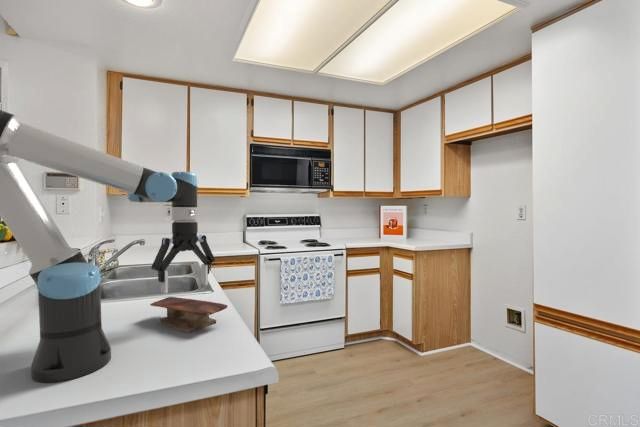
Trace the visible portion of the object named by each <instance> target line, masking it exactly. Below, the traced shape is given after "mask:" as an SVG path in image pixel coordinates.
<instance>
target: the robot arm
mask: <svg viewBox="0 0 640 427" xmlns="http://www.w3.org/2000/svg"><path fill="white" fill-rule="evenodd" d="M20 160H23V161H25V162H29V163H32V164H35V165H39V166H41V167H45V168H48V169H51V170H54V171H58V172H61V173H64V174H67V175H70V176H74V177H78V178H80V179H84V180H87V181H90V182H93V183H96V184H99V185H102V186H106V187H108V188H112V189H116V190H118V191H121V192H122V191H123V192H125V193H127V199H128V201H130V202H131V203H142V204H143V203H171V220H172V221H173V222H172V223H171V234H172V237H171V238H169V237H162V238H161V245H160V246H159V247H160V248H159V249H158V252H157V254H156V256H155V259H154V260H153V263H152V265H151V267H150V269H151V270H153V271H156V272H157V278H158V279H157V280H158V283H160V292H161V293H164V294H169V275H168V274H169V271H168V270H166V269H168V267H169V266H170V264H171V263H172V261H173V260H174V259H175V257H176V256H177V255H178V254H179V253H180V252H187V251H192V252H193V253H194V254H195V256H197V258H198V259H199V260H200V262H202V264H200V284H201V285H204V286H208V284H209V283H208V282H209V280H208V279H209V276H208V275H210V271H211V270H210V266H211V265H212V263H215V262H216V259H215V256H214V253H213V252H212V250H211V248H210V246H209V243H208V241H207V236H206V235H205V234H199V235H198V232H199V231H198V229H199V226H198V222H197V220H198V189H199V188H198V177H197V174H196V173H195V172H192V171H191V172H190V171H172V172H171V174H169V173H166V172H163V171H158V172H157V171H155V170H152V169H149V168H146V167H144V166H141V165H139V164H136V163H133V162H130V161H128V160H124V159H122V158H119V157H116V156H114V155H111V154H108V153H105V152H102V151H100V150H97V149H94V148H93V147H89V146H86V145H84V144H81V143H78V142H75V141H73V140H71V139H67V138H65V137H61V136H60V135H59V136H58V135H56V134H53V133H50V132H48V131H46V130H42V129H40V128H37V127H34V126H31V125H28V124H26V123H23V122H22V121H21V119H20V118H19V117H18V116H17V115H15V114H13V113H10V112H7V111H4V110H2V109H0V218H1V219H2V221H3V223H5V225H6V226H7V229H8V230H9V232H10V234H11V235H12V237H13V238H14V239H15V240H16V242H17V243H18V245H19V247H20V249H22V251H23V253H24V254H25V256H26V257H27V259H28V261H29V262H30V264H31V266H30V269H29V270H28V274H29V276H30V278H32V280H33V282H34V283H35V285H36V289H37V291H38V292H37V293H38V316H39V317H38V318H39V321H38V322H39V338H40V339H39V342H38V345H37V348H36V351H35V354H34V357H33V359H32V362H31V365H30V377H31V379H32V380H33V381H35V382H40V383H56V382H62V381H68V380H73V379H77V378H79V377H83V376H85V375H89V374H91V373H93V372H95V371H97V370H99V369H101V368H103V367H104V366H106V365H107V364H108V363H110V361H111V359H112V348H111V345H110V343H109V341H108V339H107V337H106V335H105V332H104V329H103V327H102V325H103V324H102V301H101V300H102V298H101V297H102V296H101V293H102V292H101V282H102V277H101V273H100V268H99V267H98V266H97V265H96V264H93V263H88V262H87V259H86V258H85V256H84V255H83V253H82V252H81V250H80V249H78V248H73V247H71V246H70V245H69V243H68V241H67V240H66V239H65V237H64V235H63V233H62V232H61V230H60V229H59V227H58V225H57V224H56V221H54V219H53V217H52V215H51V214H50V213H49V211H48V209H47V207H46V206H45V205H44V204H45V203H43V201H42V199H41V198H40V195H39V194H38V193H37V191H36V190H35V187H34V186H33V185H32V183H31V182H30V180H29V178H28V177H27V175H26V174H25V172H24V171H23V169H22V167H21V165H20V164H19V161H20ZM197 243H199V245H200V246H198V244H197ZM171 244H172V246H171V248H170V245H171ZM200 247H201V249H202V250H201V249H200ZM169 248H170V250H169ZM168 250H169V252H168Z"/></svg>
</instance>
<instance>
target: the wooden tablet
mask: <svg viewBox="0 0 640 427" xmlns="http://www.w3.org/2000/svg"><path fill="white" fill-rule="evenodd" d="M149 306H151V307H159V308H163V309H167V308H168V309H174V310H180V311H184V312H188V313H192V314H196V315H202V316H208V315H209V316H211V315H214V314H215V313H219V312H221V311H223V310H225V309H227V308H228V305H227V304H224V303H220V302H214V301H209V300H208V301H207V300H201V299H199V300H198V299H192V298H184V297H176V296H175V297H174V296H168V297H165V298H162V299H160V300H157V301H154V302H151V303H150V304H149Z"/></svg>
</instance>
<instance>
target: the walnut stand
mask: <svg viewBox="0 0 640 427" xmlns="http://www.w3.org/2000/svg"><path fill="white" fill-rule="evenodd" d="M159 322H160V323H162V324H164V325H167V326H169V327H171V328H173V329H176V330H178V331H181V332H184V333H186V334H188V333H191V332H194V331H196V330H197V331H198V330H200V329H203V328H206V327H209V326H212V325H215V324H217V320H216V319H215V318H211V317H210V315H208V316H202V315H196V314H192V313H188V312H184V311H180V310H174V309H168V308H166V316H164V317H161V318H159Z"/></svg>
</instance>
